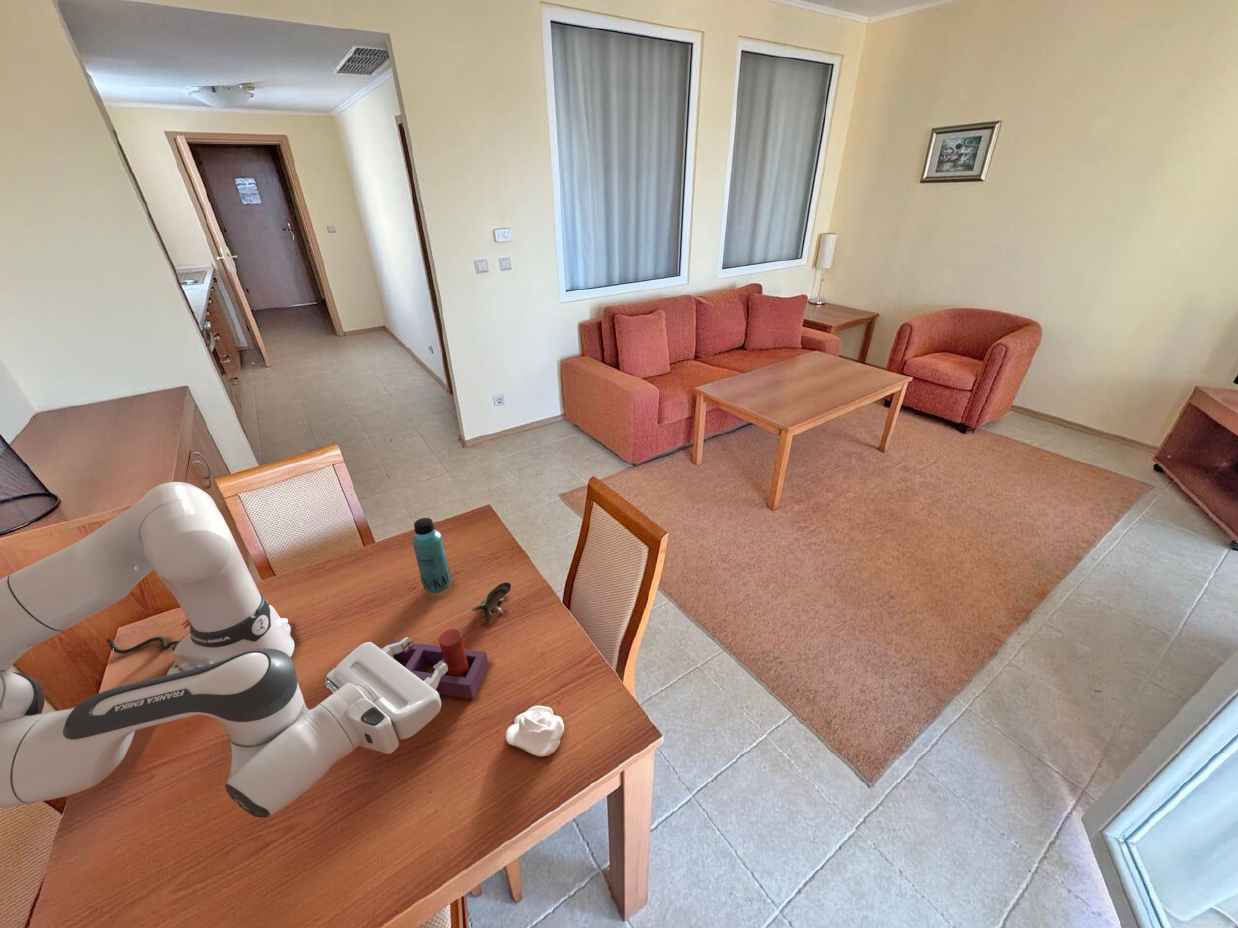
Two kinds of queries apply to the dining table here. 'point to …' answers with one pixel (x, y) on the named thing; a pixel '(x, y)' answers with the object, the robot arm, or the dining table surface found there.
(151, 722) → the robot arm
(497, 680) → the dining table surface
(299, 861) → the dining table surface
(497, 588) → the eagle figurine
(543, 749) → the rose
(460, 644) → the red peg
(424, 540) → the beverage bottle
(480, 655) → the peg board
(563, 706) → the dining table surface
